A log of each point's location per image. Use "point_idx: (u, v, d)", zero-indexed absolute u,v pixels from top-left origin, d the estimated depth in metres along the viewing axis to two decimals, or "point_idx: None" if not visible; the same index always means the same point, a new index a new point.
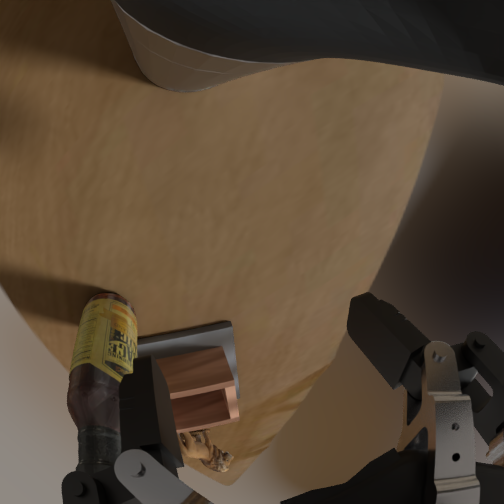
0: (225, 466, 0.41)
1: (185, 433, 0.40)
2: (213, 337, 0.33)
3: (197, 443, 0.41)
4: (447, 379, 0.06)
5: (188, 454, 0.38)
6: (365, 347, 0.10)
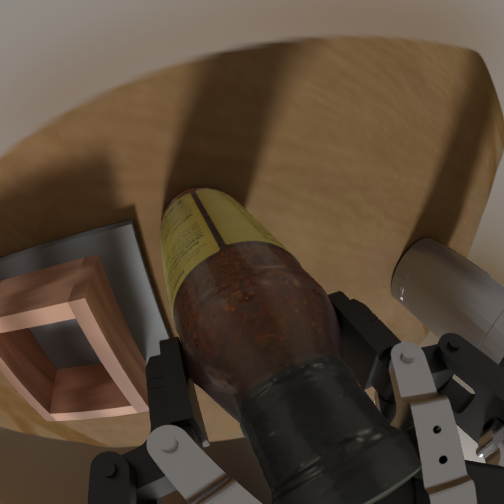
0: None
1: None
2: None
3: None
4: (420, 380, 0.07)
5: None
6: None
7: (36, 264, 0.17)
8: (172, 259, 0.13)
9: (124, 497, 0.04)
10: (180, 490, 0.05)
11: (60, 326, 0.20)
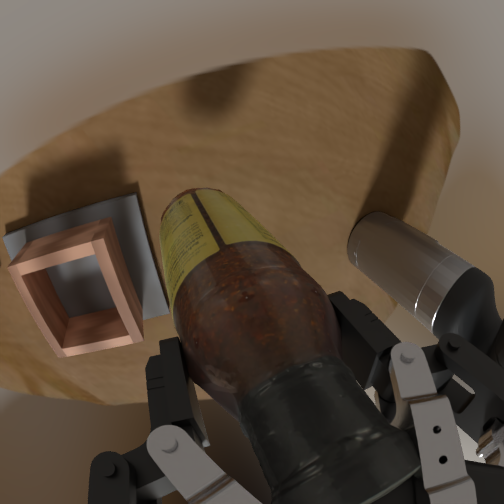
0: None
1: None
2: (155, 299, 0.32)
3: None
4: (420, 380, 0.07)
5: None
6: None
7: (63, 226, 0.25)
8: (172, 259, 0.13)
9: (124, 497, 0.04)
10: (180, 490, 0.05)
11: (77, 277, 0.27)
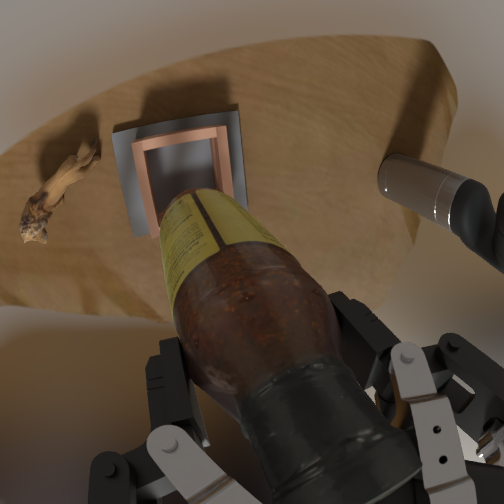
0: (36, 234, 0.27)
1: (90, 166, 0.30)
2: (238, 198, 0.41)
3: None
4: (420, 380, 0.07)
5: (71, 172, 0.27)
6: None
7: (174, 127, 0.34)
8: (172, 259, 0.13)
9: (124, 497, 0.04)
10: (180, 491, 0.05)
11: (177, 172, 0.36)
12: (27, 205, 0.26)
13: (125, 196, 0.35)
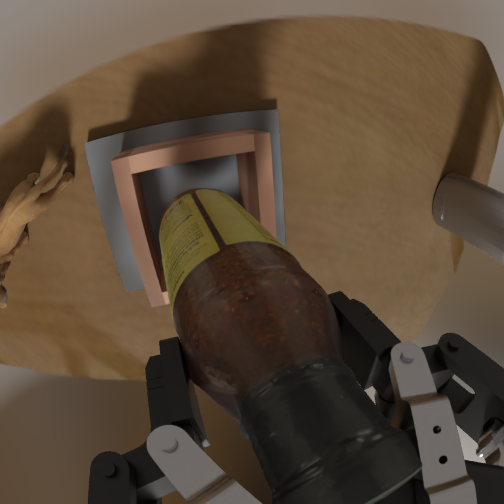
0: None
1: (57, 192, 0.19)
2: None
3: None
4: (420, 380, 0.07)
5: (23, 205, 0.15)
6: None
7: (182, 132, 0.22)
8: (172, 259, 0.13)
9: (124, 497, 0.04)
10: (180, 491, 0.05)
11: None
12: None
13: (109, 237, 0.24)
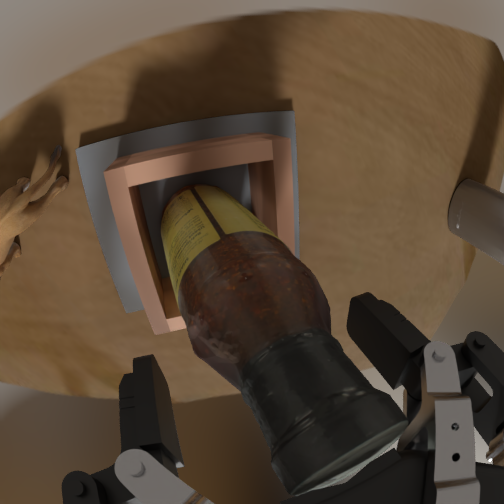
0: None
1: (48, 199, 0.16)
2: None
3: None
4: (447, 379, 0.06)
5: (9, 217, 0.12)
6: (365, 347, 0.10)
7: (187, 136, 0.19)
8: (176, 249, 0.14)
9: None
10: None
11: None
12: None
13: (106, 254, 0.21)
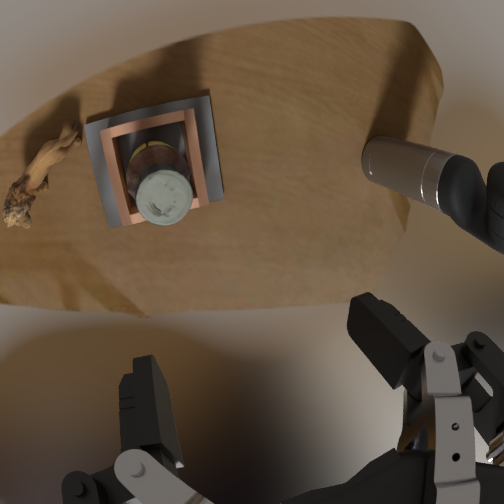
0: (18, 218, 0.25)
1: (71, 147, 0.28)
2: (213, 184, 0.39)
3: (49, 168, 0.28)
4: (447, 379, 0.06)
5: (51, 152, 0.25)
6: (365, 347, 0.10)
7: (145, 115, 0.32)
8: (130, 160, 0.27)
9: None
10: None
11: None
12: (10, 190, 0.24)
13: (99, 187, 0.34)
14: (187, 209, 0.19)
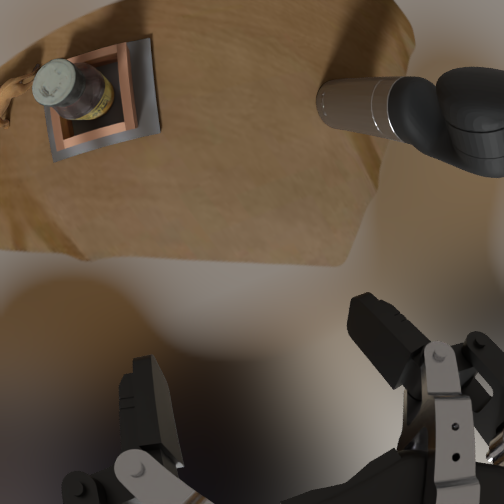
0: None
1: (28, 85, 0.24)
2: (150, 118, 0.35)
3: (9, 103, 0.24)
4: (447, 379, 0.06)
5: (9, 85, 0.21)
6: (365, 347, 0.10)
7: None
8: None
9: None
10: None
11: None
12: None
13: (47, 123, 0.30)
14: (69, 89, 0.15)
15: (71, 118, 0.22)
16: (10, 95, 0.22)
